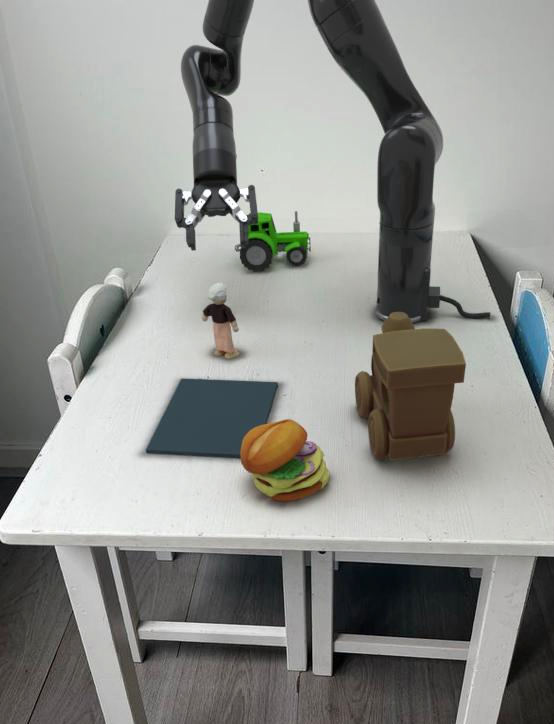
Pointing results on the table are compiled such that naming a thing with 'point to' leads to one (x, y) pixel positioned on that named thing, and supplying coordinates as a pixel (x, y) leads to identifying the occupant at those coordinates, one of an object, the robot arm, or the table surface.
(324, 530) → the table surface
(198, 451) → the mat
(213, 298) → the grandmother figurine
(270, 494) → the cheeseburger
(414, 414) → the wooden toy train
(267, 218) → the toy tractor
